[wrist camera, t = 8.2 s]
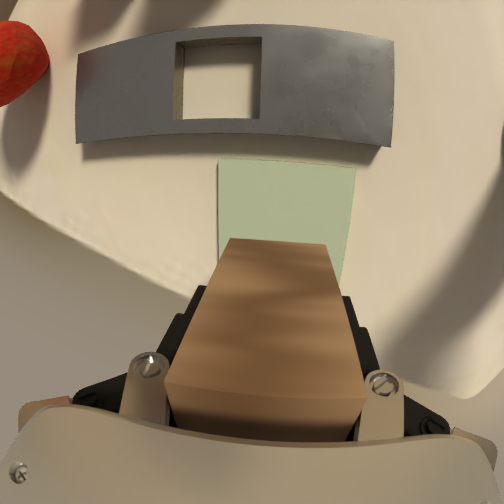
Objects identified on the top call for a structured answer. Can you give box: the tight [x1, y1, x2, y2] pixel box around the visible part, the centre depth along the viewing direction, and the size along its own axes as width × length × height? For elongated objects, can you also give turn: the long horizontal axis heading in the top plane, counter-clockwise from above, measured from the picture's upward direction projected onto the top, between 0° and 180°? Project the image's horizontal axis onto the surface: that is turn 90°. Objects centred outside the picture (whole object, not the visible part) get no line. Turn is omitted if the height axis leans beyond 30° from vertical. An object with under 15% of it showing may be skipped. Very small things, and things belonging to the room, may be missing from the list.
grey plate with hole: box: [75, 24, 394, 148], centre depth 18 cm, size 24×8×2 cm, turn 88°
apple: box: [0, 21, 49, 107], centre depth 13 cm, size 9×8×11 cm
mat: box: [218, 158, 356, 285], centre depth 22 cm, size 10×10×1 cm
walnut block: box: [164, 238, 368, 442], centre depth 11 cm, size 5×5×9 cm
